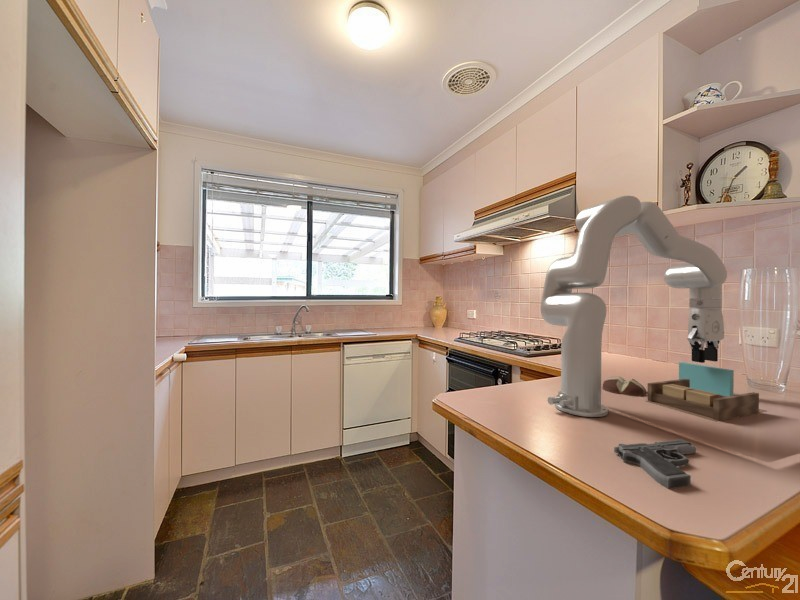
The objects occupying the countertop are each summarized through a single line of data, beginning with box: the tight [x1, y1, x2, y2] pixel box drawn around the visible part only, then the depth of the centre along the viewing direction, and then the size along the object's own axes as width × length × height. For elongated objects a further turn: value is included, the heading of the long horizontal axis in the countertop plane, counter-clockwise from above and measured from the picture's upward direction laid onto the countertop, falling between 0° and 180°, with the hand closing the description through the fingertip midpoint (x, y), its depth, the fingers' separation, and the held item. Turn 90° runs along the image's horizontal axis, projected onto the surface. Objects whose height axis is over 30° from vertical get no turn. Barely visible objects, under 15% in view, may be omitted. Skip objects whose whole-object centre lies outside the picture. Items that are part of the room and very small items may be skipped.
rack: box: [645, 378, 767, 423], centre depth 88 cm, size 22×16×6 cm
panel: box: [678, 361, 735, 396], centre depth 102 cm, size 2×9×13 cm
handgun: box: [613, 438, 697, 489], centre depth 59 cm, size 2×17×12 cm
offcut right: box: [686, 389, 720, 407], centre depth 83 cm, size 4×5×5 cm
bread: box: [601, 376, 647, 397], centre depth 102 cm, size 11×11×5 cm
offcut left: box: [663, 384, 693, 400], centre depth 88 cm, size 4×5×5 cm
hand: (704, 360), depth 102 cm, fingers open, 5 cm apart
